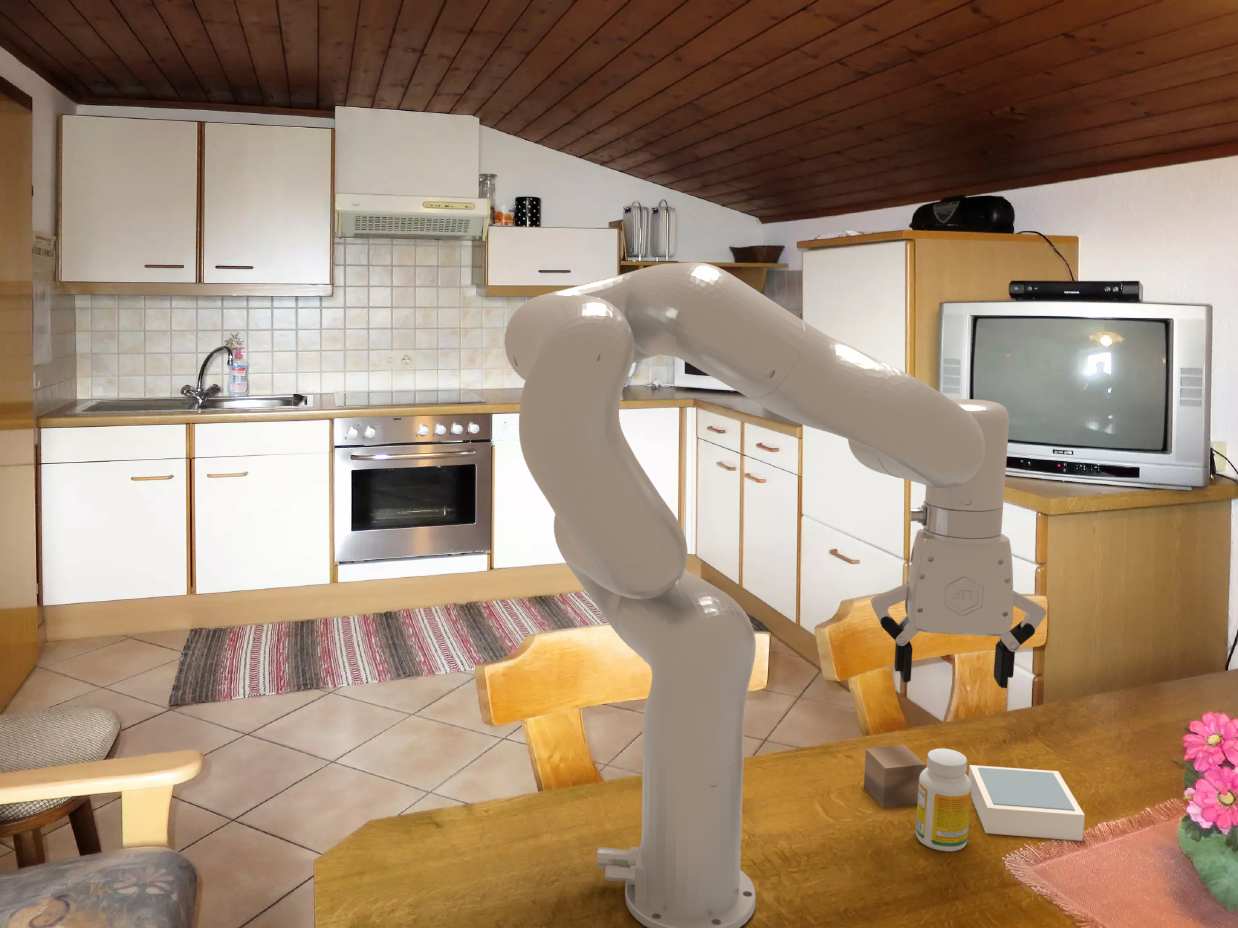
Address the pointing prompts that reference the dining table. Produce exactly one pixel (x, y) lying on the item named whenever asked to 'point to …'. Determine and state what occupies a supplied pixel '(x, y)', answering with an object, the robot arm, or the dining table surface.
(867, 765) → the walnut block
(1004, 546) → the robot arm
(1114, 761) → the dining table surface
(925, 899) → the dining table surface
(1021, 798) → the base
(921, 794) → the supplement bottle
